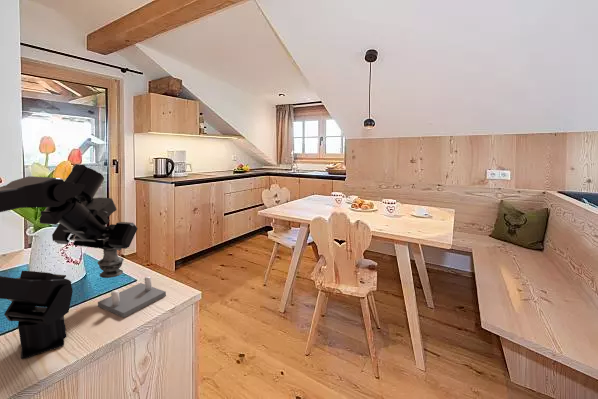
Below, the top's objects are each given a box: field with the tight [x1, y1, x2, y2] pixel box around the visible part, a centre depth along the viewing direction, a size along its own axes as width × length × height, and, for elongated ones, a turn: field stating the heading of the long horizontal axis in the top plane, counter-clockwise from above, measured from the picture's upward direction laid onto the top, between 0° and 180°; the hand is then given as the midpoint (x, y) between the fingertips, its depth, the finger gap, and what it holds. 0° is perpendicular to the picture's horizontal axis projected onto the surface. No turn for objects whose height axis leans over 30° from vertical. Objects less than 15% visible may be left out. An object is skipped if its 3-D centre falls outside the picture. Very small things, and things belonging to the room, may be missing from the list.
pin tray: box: [97, 275, 167, 318], centre depth 78 cm, size 12×10×5 cm
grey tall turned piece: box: [97, 240, 125, 279], centre depth 78 cm, size 6×6×12 cm
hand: (114, 248), depth 79 cm, fingers closed on grey tall turned piece, 4 cm apart
